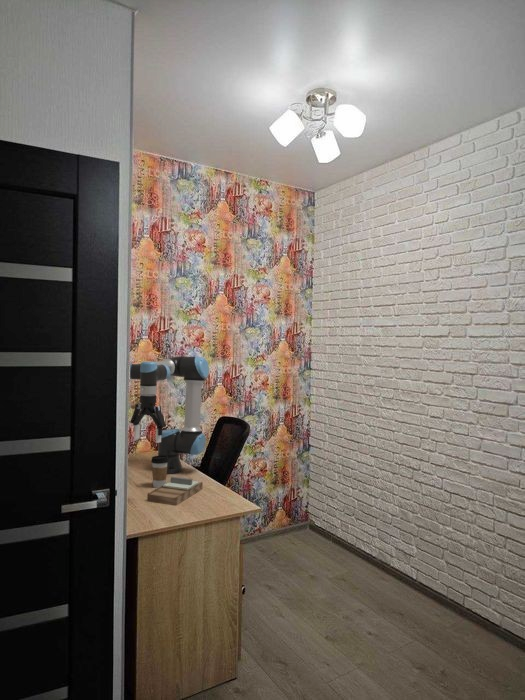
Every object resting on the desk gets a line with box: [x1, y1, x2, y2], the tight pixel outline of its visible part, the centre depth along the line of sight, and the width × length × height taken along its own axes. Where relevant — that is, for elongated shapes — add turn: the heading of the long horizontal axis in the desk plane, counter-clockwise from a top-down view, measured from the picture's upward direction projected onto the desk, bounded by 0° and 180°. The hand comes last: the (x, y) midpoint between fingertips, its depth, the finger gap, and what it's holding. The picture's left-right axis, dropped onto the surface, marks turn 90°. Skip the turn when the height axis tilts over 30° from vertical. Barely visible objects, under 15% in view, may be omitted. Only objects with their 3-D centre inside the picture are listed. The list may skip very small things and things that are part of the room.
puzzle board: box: [146, 481, 204, 506], centre depth 229 cm, size 26×15×4 cm, turn 161°
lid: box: [163, 476, 200, 490], centre depth 234 cm, size 12×13×3 cm
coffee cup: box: [150, 455, 168, 489], centre depth 242 cm, size 8×8×15 cm
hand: (147, 440), depth 224 cm, fingers open, 13 cm apart
